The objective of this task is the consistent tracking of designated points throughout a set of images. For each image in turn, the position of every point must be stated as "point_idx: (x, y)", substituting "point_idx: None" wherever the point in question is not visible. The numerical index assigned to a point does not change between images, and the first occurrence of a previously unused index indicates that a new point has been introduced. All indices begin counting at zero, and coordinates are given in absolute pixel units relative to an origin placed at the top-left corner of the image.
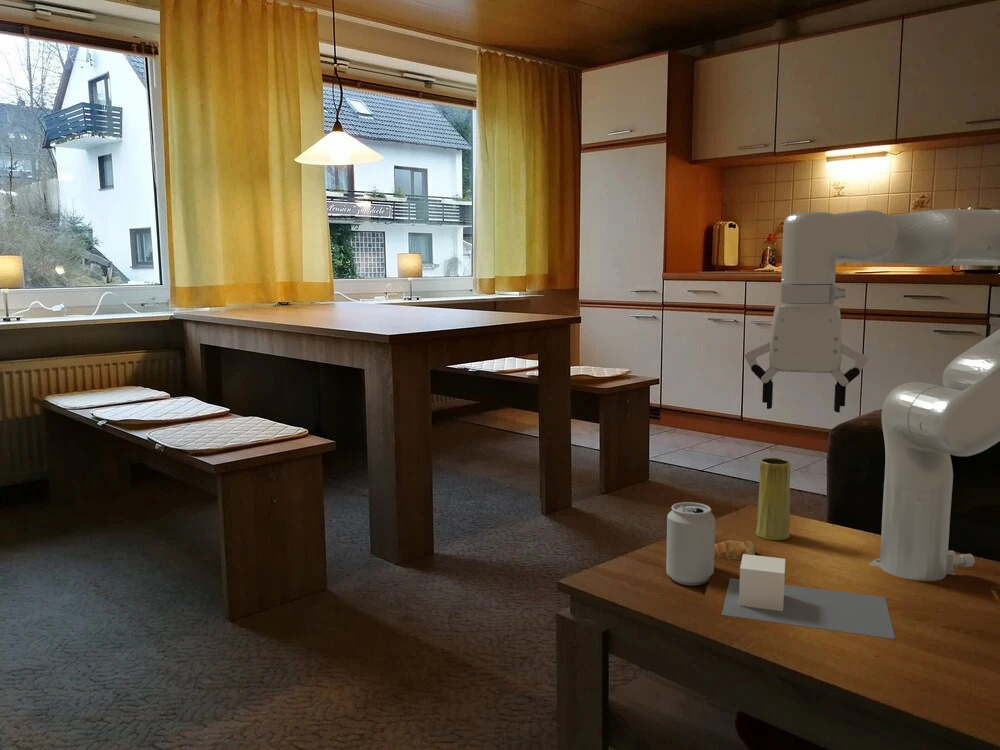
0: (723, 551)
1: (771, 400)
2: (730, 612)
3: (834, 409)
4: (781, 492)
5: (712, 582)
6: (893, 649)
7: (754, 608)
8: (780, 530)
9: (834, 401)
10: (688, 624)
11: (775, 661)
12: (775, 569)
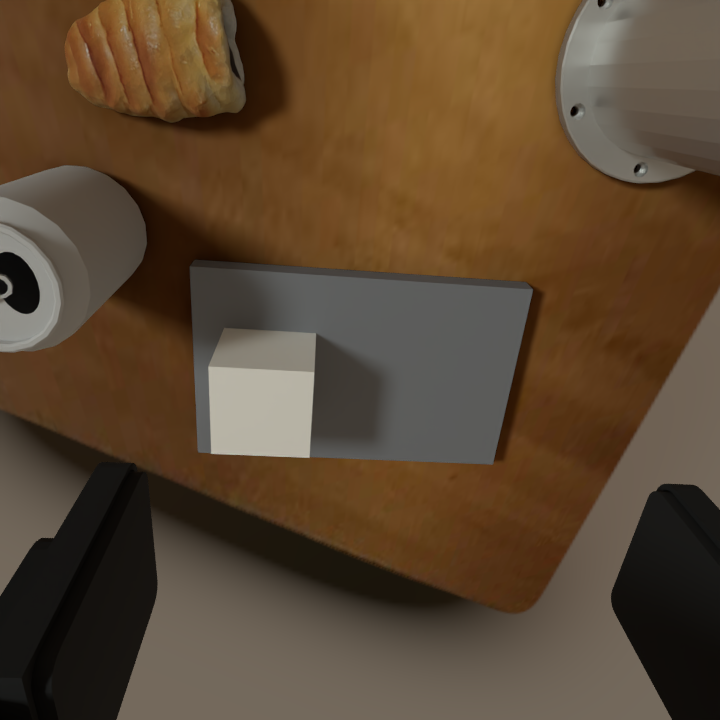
0: (143, 107)
1: (135, 650)
2: None
3: (625, 576)
4: None
5: (149, 238)
6: None
7: None
8: None
9: (674, 570)
10: (143, 452)
11: (297, 528)
12: (290, 440)
